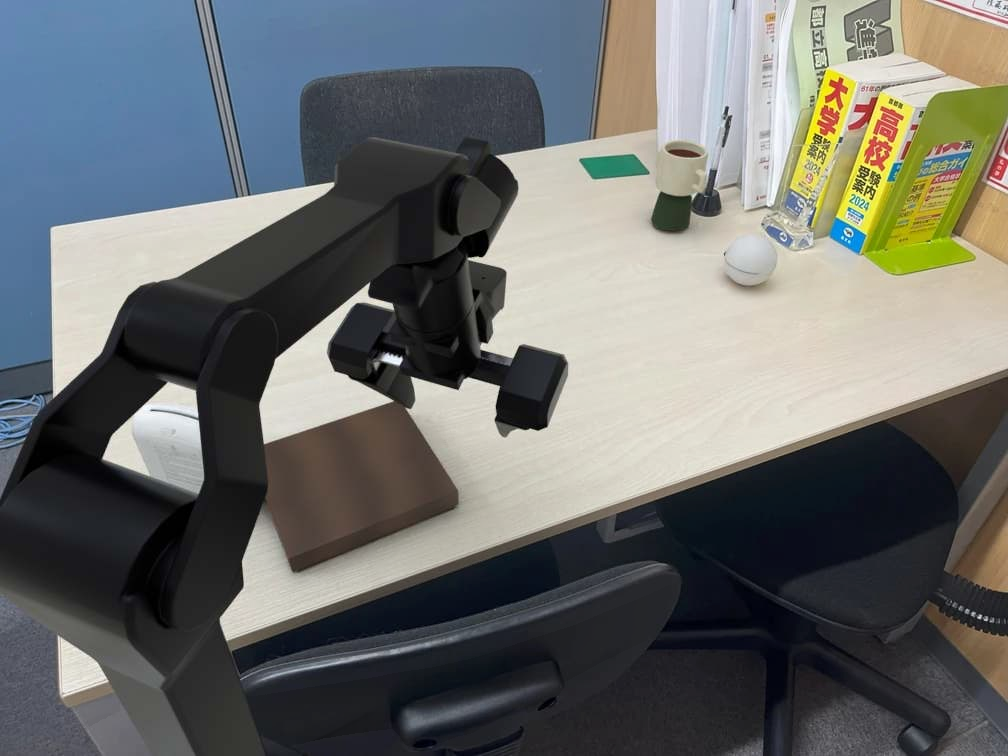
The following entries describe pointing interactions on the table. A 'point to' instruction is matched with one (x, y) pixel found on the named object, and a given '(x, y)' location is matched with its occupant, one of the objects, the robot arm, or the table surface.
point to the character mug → (678, 182)
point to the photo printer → (170, 443)
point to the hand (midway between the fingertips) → (457, 418)
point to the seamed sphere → (750, 259)
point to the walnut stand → (353, 484)
